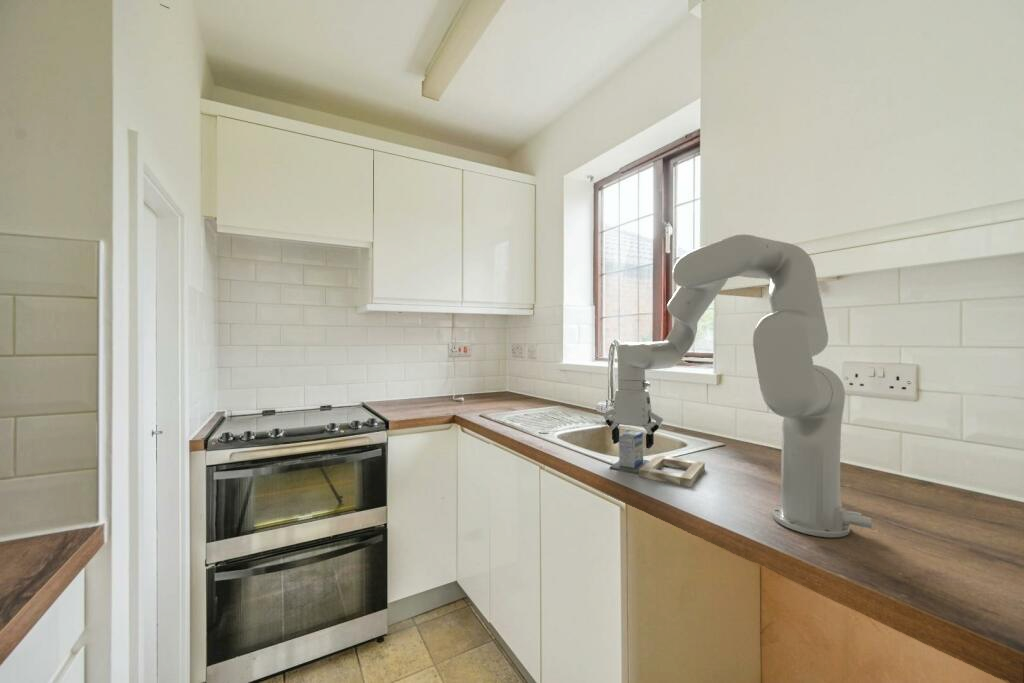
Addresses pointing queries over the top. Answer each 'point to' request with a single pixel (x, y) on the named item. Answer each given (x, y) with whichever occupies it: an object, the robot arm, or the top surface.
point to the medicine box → (631, 449)
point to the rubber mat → (627, 469)
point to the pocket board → (686, 479)
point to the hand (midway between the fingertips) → (632, 445)
